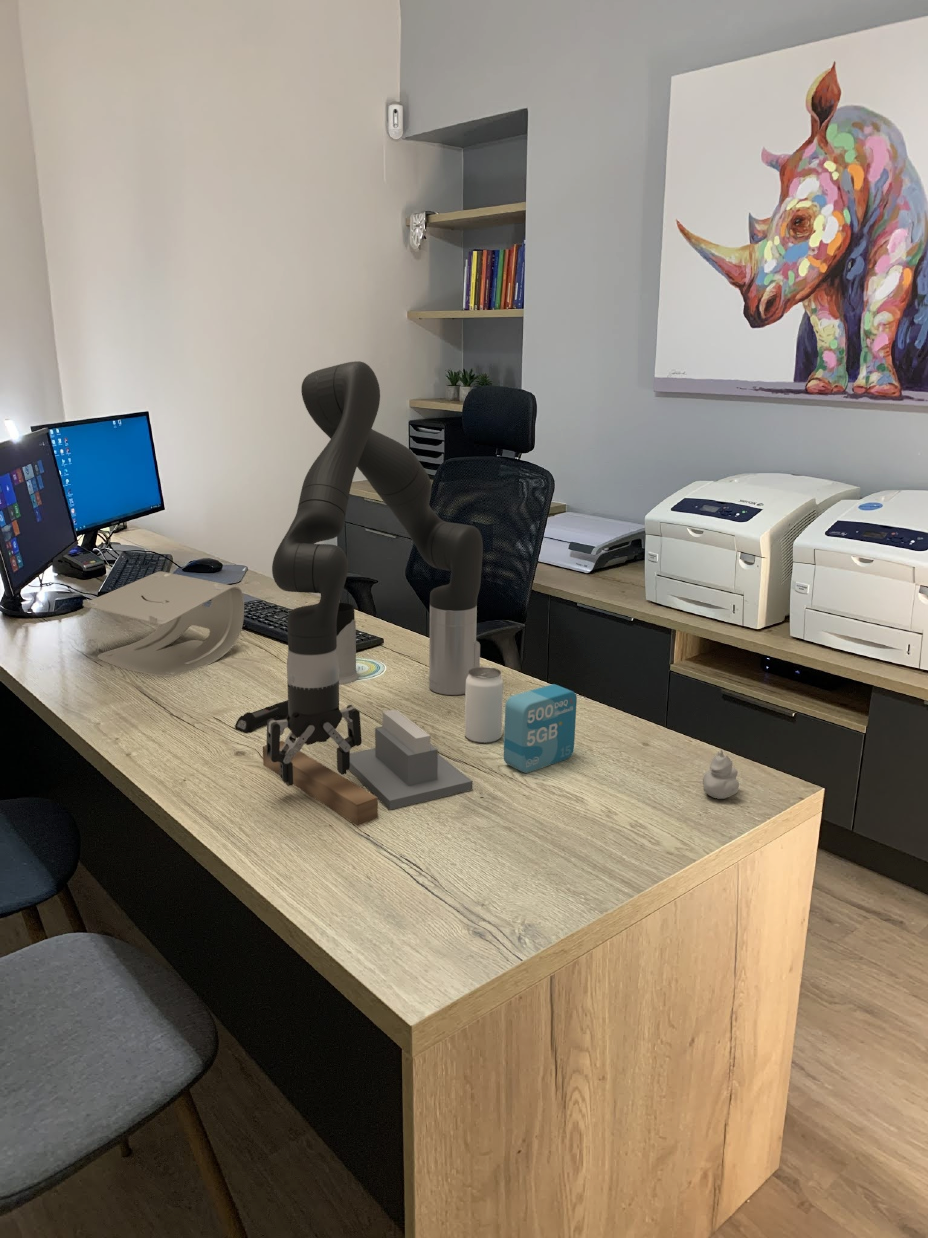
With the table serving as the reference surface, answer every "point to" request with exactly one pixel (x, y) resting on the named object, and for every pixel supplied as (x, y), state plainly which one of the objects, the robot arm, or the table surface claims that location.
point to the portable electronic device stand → (174, 622)
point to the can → (483, 705)
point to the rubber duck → (720, 778)
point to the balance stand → (405, 765)
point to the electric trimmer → (262, 717)
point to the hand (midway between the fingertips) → (315, 778)
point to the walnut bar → (329, 788)
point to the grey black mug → (346, 643)
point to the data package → (539, 727)
